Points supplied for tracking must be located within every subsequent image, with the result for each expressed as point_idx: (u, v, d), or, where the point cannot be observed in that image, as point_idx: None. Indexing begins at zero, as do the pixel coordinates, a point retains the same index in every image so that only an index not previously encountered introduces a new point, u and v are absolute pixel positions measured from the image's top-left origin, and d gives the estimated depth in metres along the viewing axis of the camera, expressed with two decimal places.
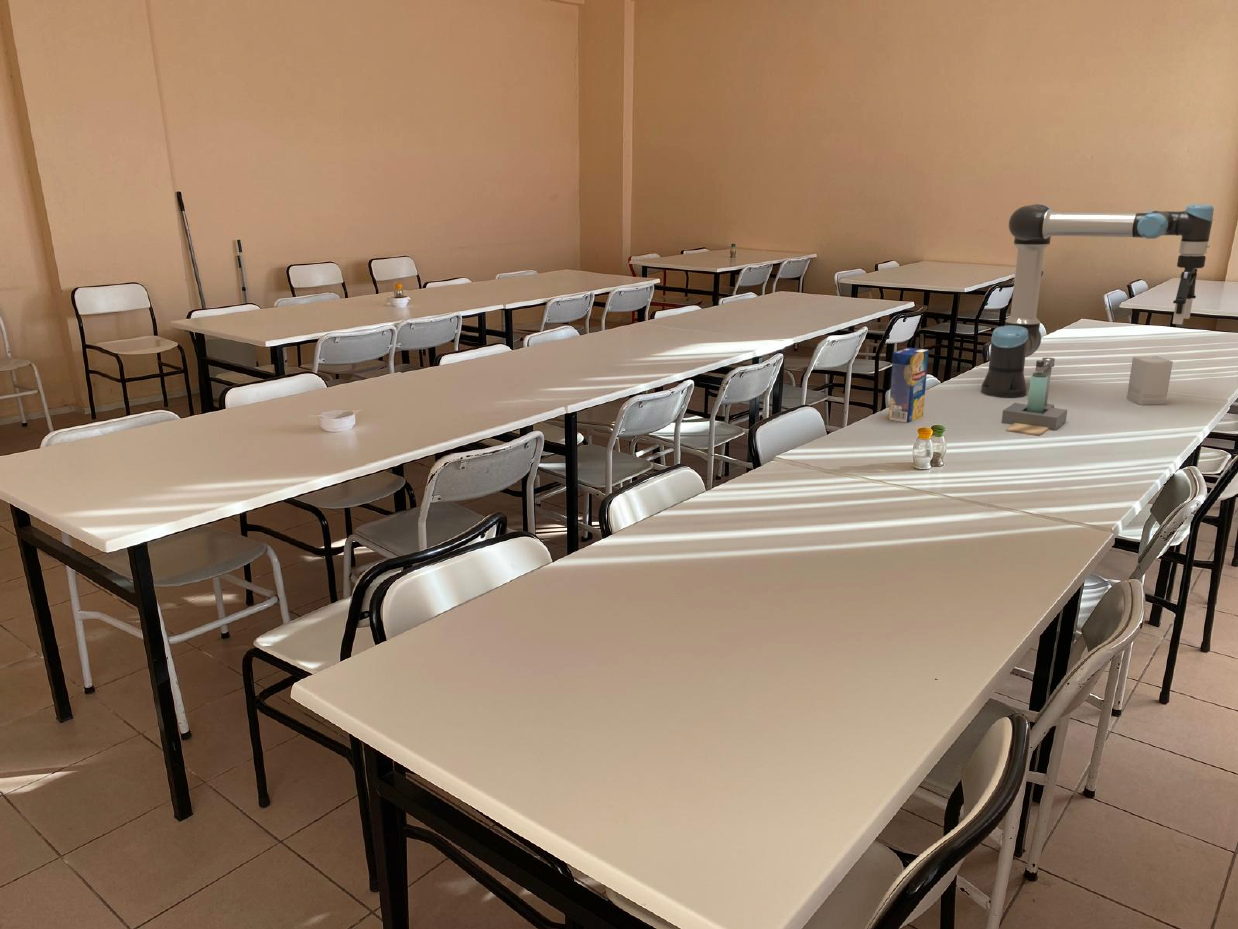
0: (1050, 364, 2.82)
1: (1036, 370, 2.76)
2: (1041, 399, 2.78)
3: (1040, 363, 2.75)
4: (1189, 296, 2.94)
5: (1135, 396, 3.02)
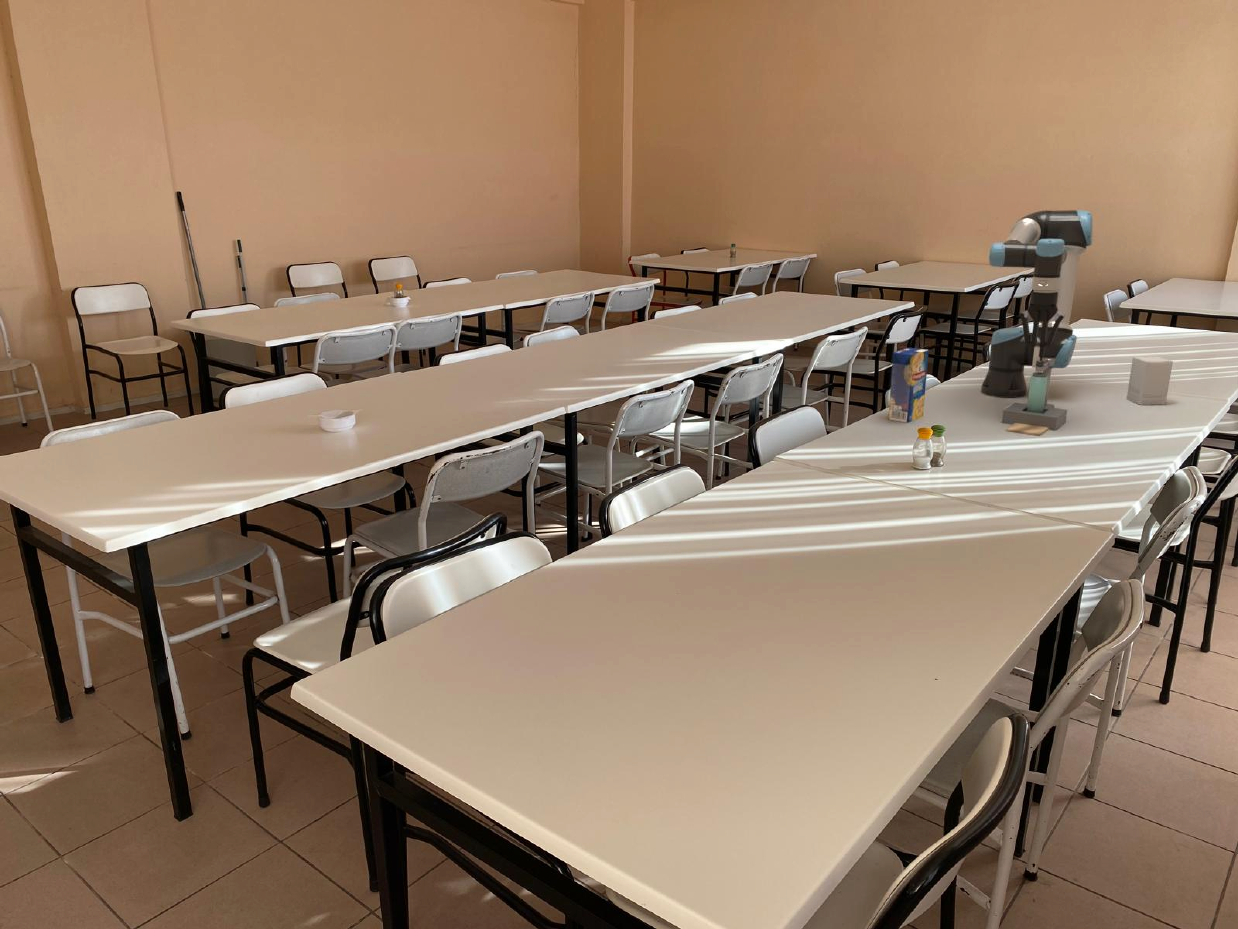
0: (1050, 364, 2.82)
1: (1036, 370, 2.76)
2: (1041, 399, 2.78)
3: (1040, 363, 2.75)
4: None
5: (1135, 396, 3.02)
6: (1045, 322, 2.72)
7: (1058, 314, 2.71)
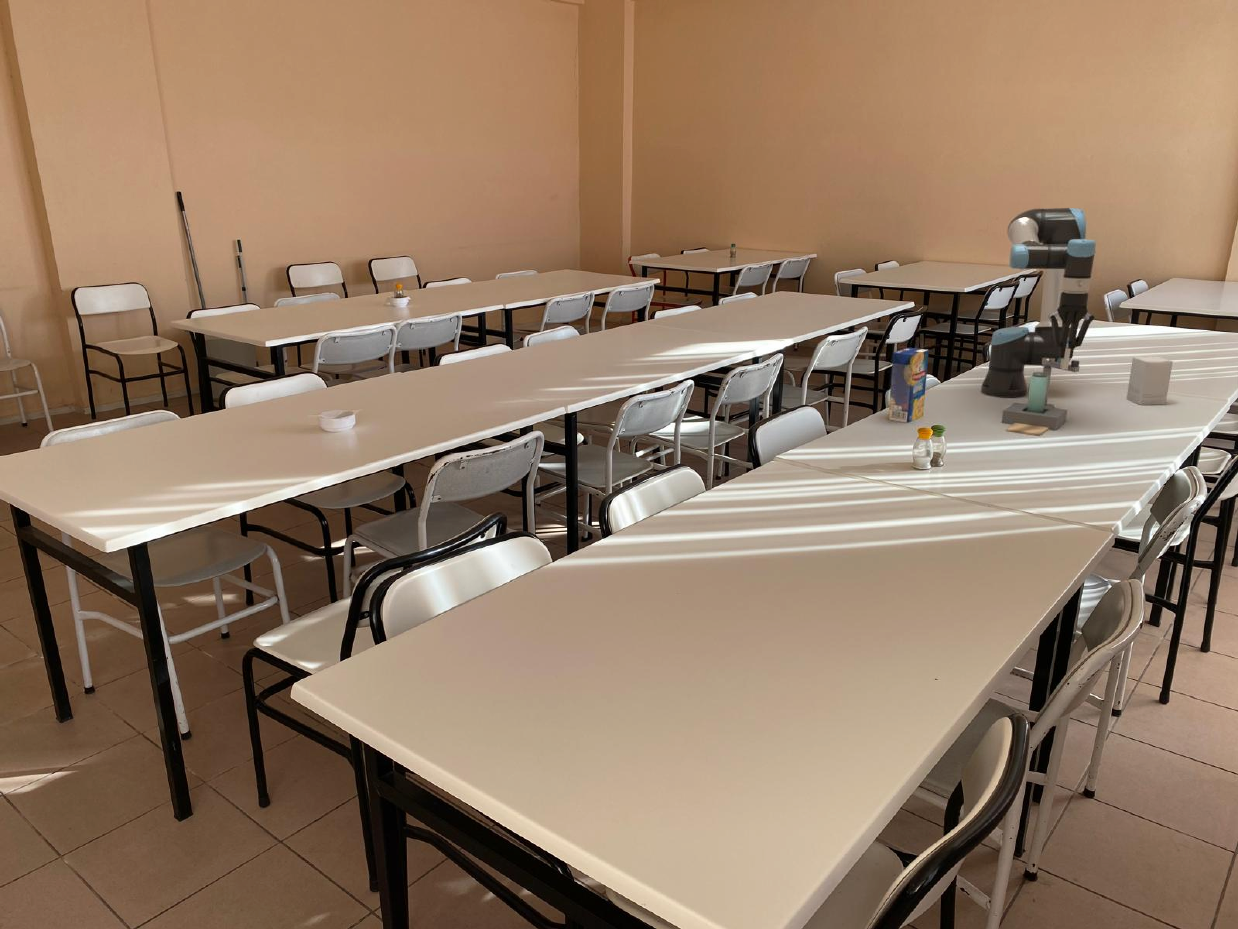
0: None
1: (1075, 370, 2.74)
2: (1041, 399, 2.78)
3: None
4: (1069, 345, 2.74)
5: (1135, 396, 3.02)
6: (1077, 323, 2.70)
7: (1088, 314, 2.70)
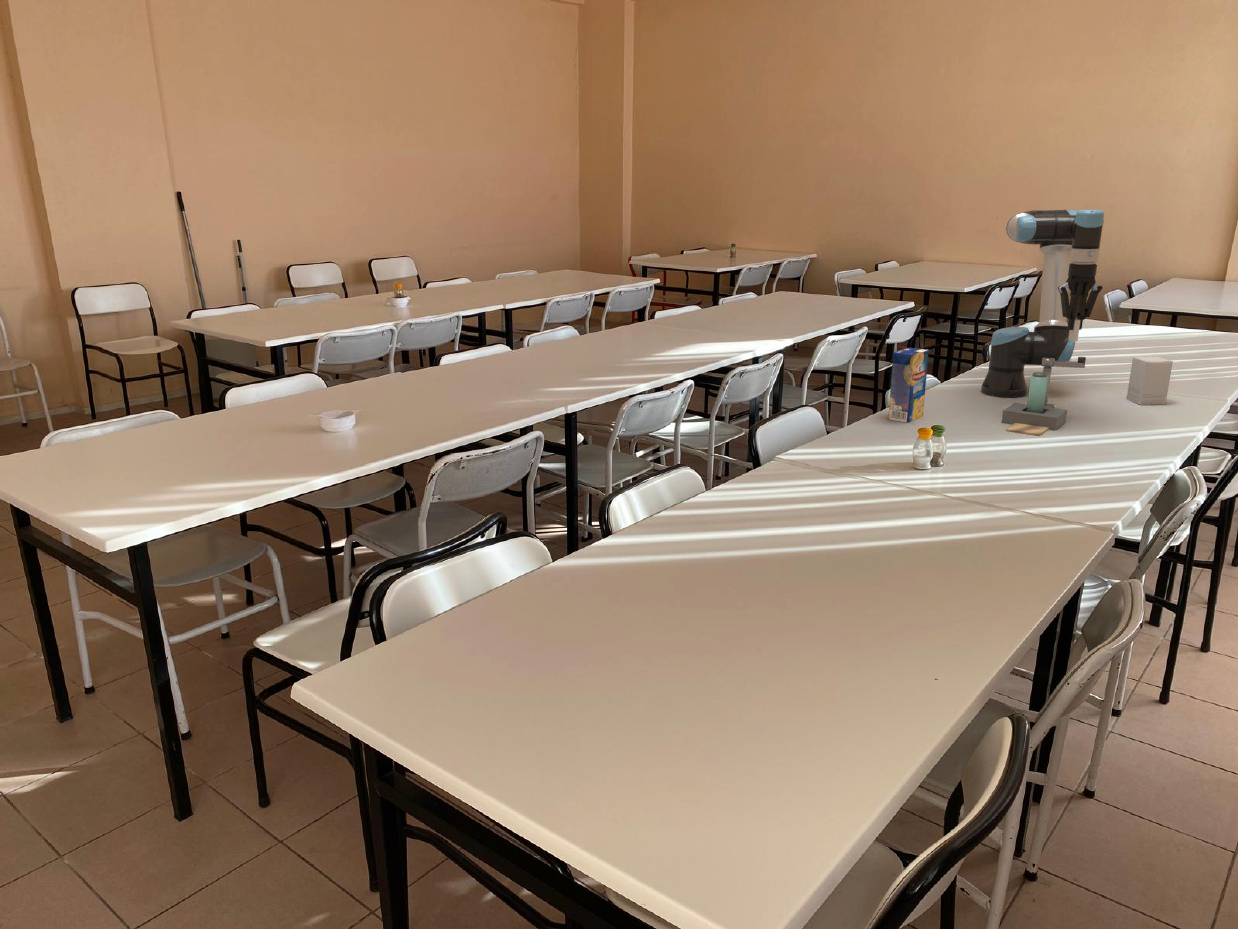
0: None
1: (1084, 366, 2.80)
2: (1041, 399, 2.78)
3: None
4: (1078, 317, 2.73)
5: (1135, 396, 3.02)
6: (1087, 294, 2.70)
7: (1096, 285, 2.70)
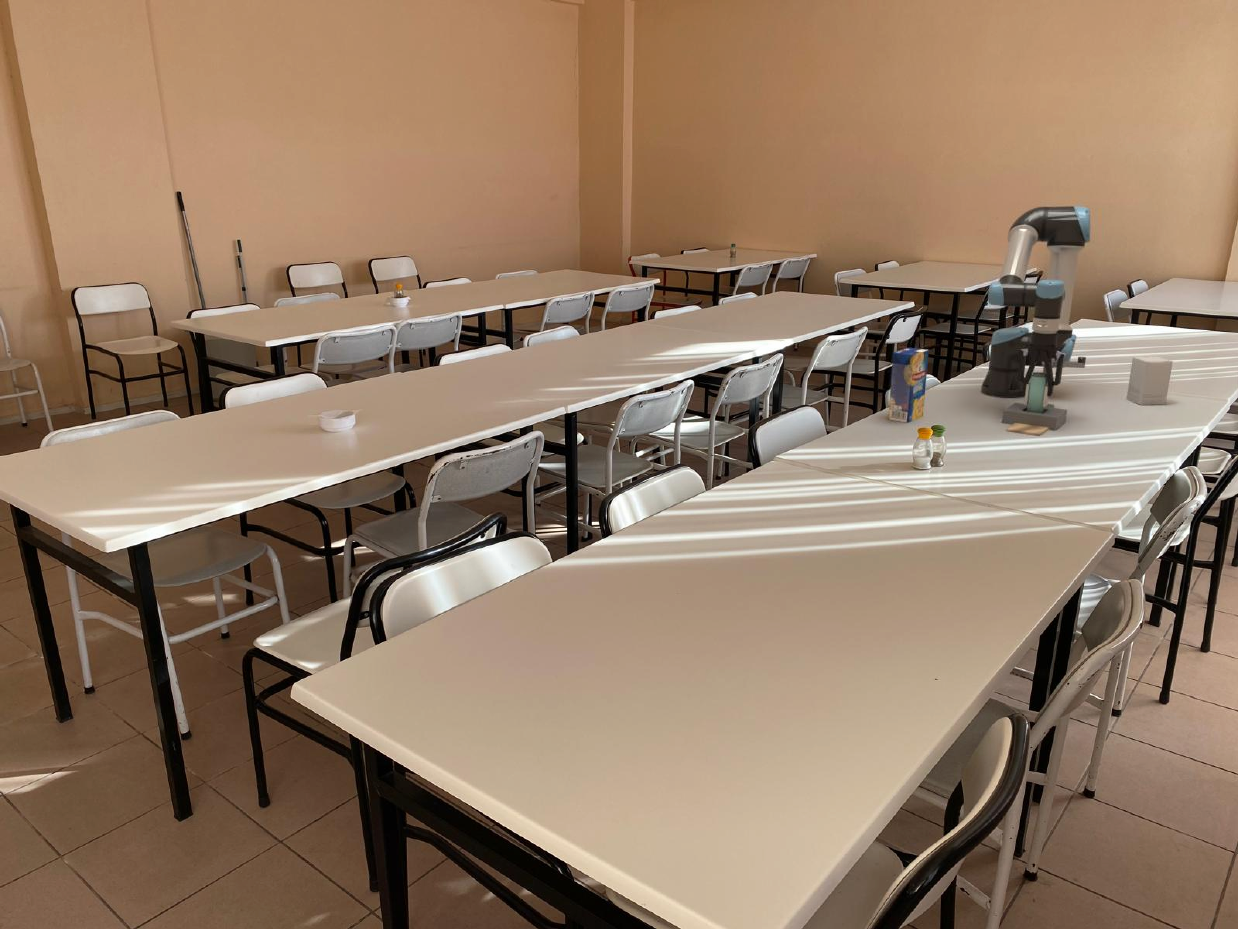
0: None
1: (1084, 366, 2.80)
2: (1041, 399, 2.78)
3: None
4: None
5: (1135, 396, 3.02)
6: (1047, 362, 2.74)
7: (1059, 353, 2.72)
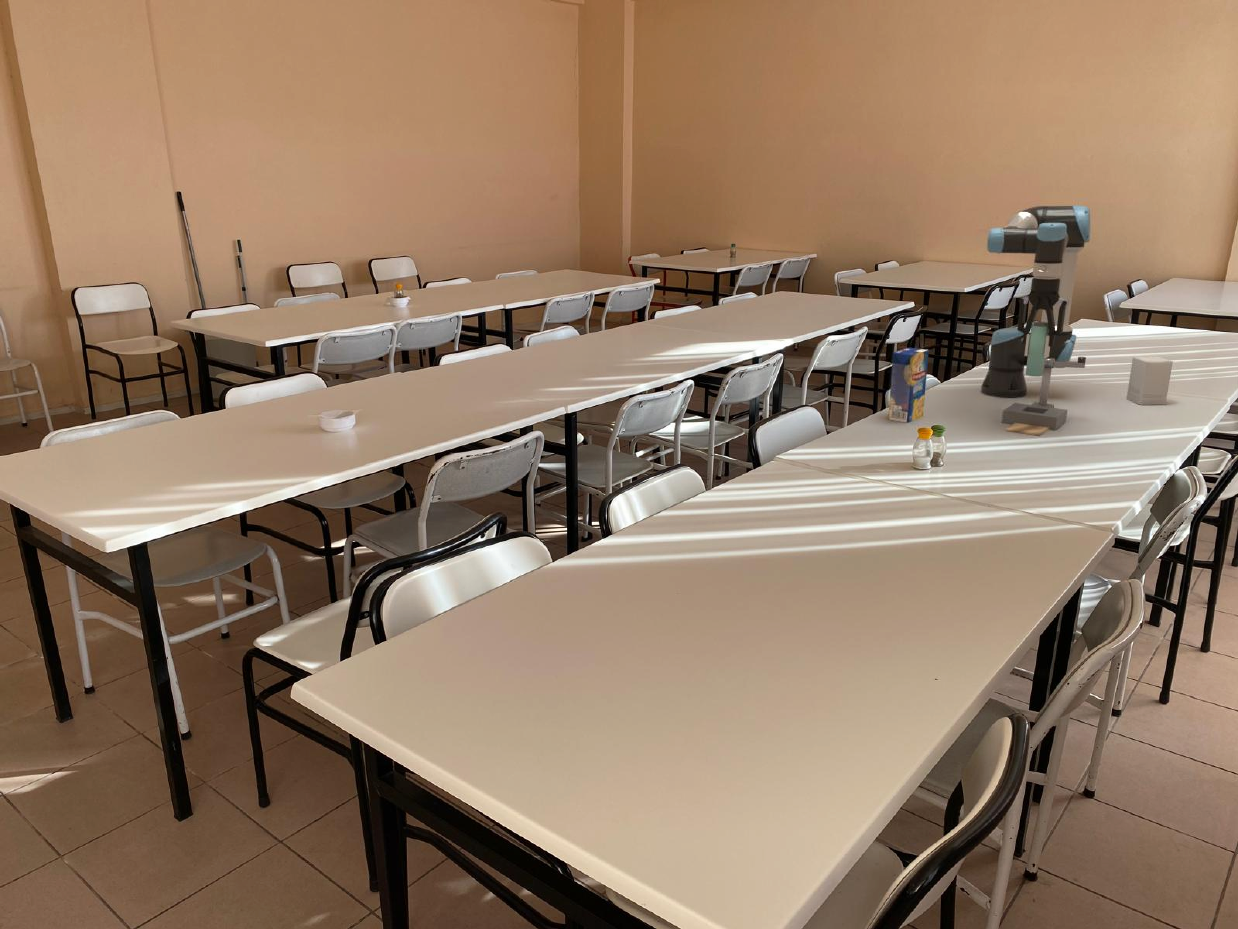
0: None
1: (1084, 366, 2.80)
2: (1042, 349, 2.65)
3: None
4: None
5: (1135, 396, 3.02)
6: (1048, 310, 2.61)
7: (1061, 300, 2.59)
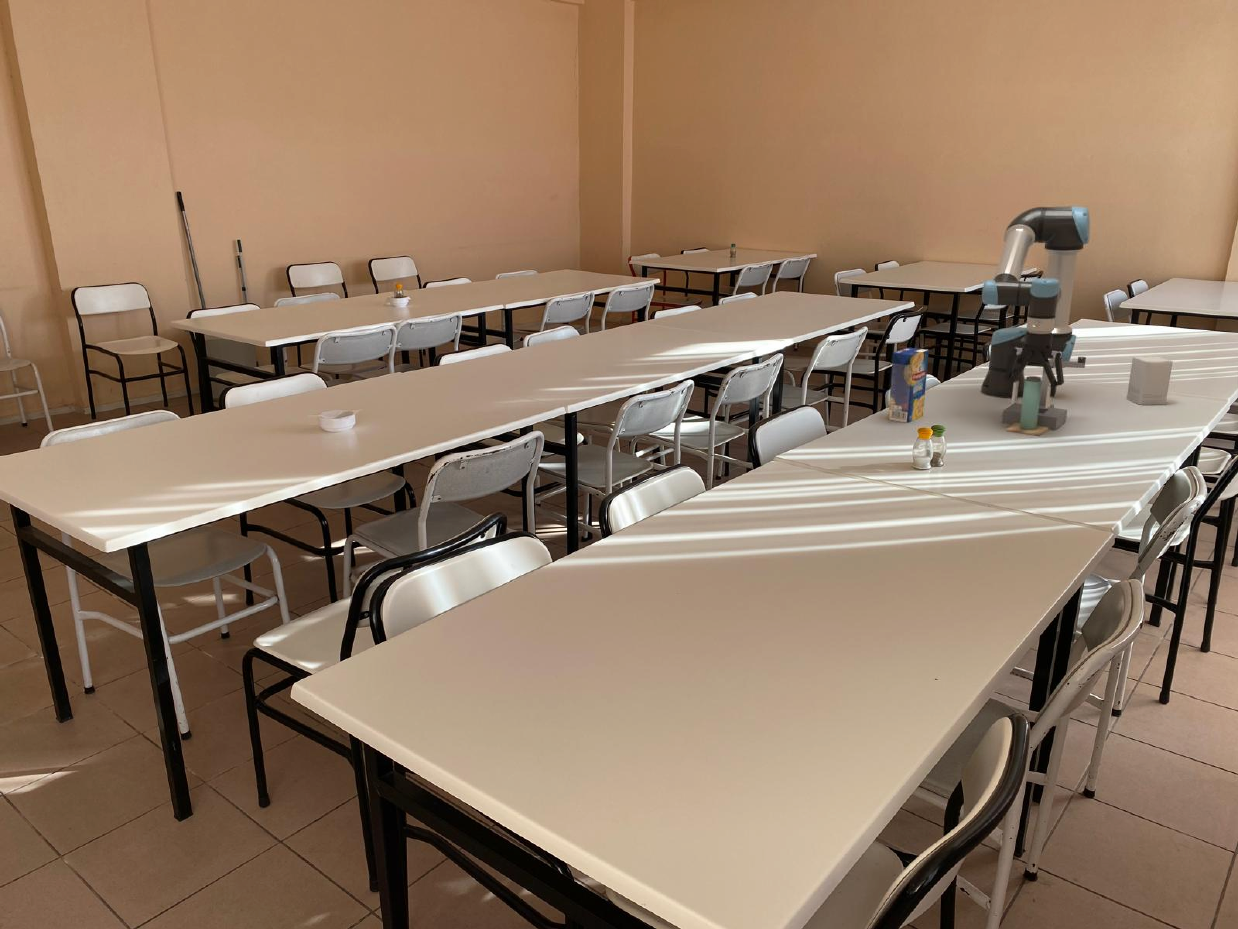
0: None
1: (1084, 366, 2.80)
2: (1035, 404, 2.70)
3: None
4: None
5: (1135, 396, 3.02)
6: (1044, 362, 2.65)
7: (1054, 353, 2.64)
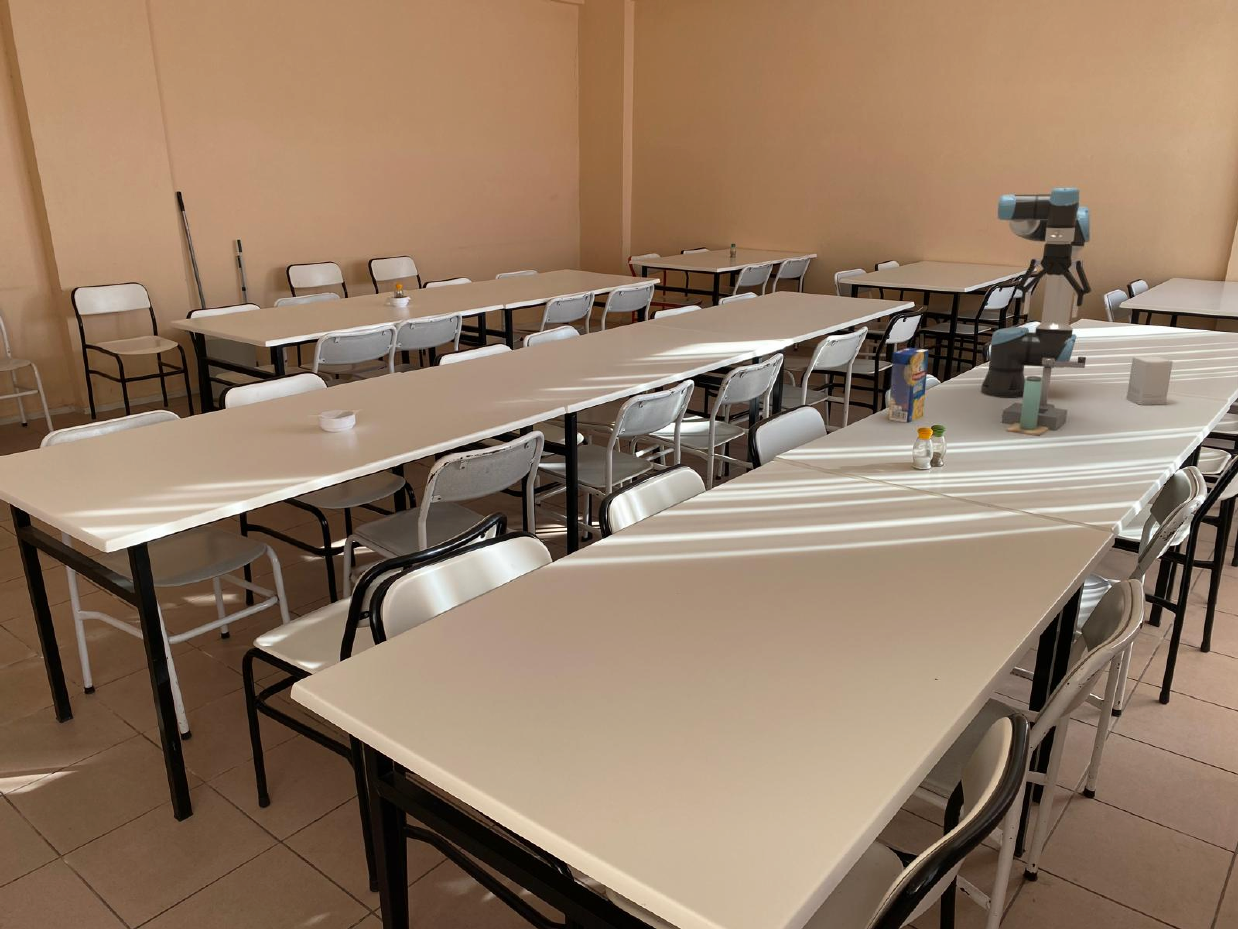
0: None
1: (1084, 366, 2.80)
2: (1036, 404, 2.70)
3: None
4: None
5: (1135, 396, 3.02)
6: (1065, 272, 2.60)
7: (1074, 262, 2.59)
